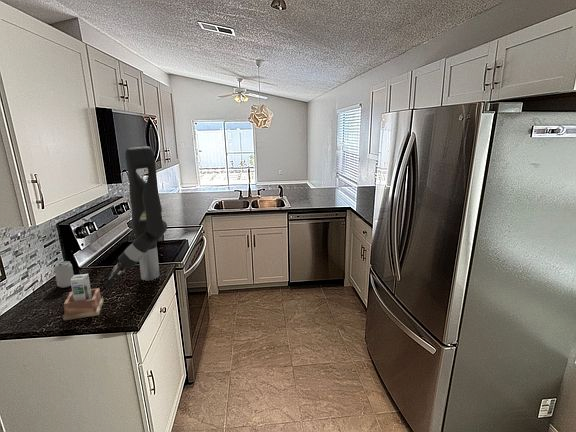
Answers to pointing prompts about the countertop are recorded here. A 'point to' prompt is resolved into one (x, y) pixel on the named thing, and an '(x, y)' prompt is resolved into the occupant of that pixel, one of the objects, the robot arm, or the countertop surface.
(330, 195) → the countertop surface
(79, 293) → the syrup box
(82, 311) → the wooden tray
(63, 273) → the can
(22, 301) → the countertop surface
